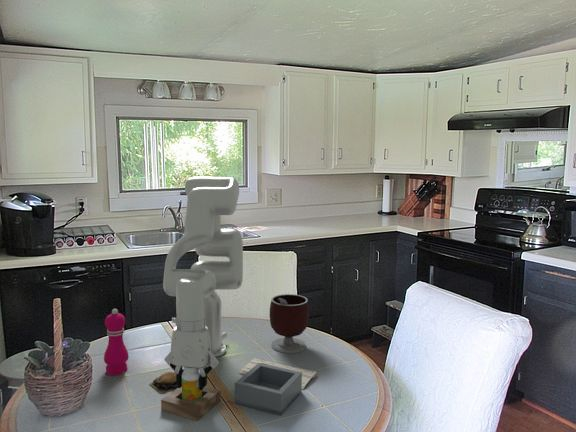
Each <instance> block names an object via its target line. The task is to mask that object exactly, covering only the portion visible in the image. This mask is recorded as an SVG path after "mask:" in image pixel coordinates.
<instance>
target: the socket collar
mask: <svg viewBox="0 0 576 432" xmlns="http://www.w3.org/2000/svg"><path fill="white" fill-rule="evenodd" d="M221 401H222V391H221V389H217V388H215V387H214V388H213V387H210V386H209V387H208V386H207V385H206V386H205V387H204V388H203V390H202V398H200V399H199V400H198V401H197V402H194V403H193V402H189V401H185V400H182V387H181V388H177V389H175V390H172V391H170V393H169V394H167V395H166V396H164V397H163V398H161V400H160V404H161V405H160V409H161V411H162V412H166V413H170V414H172V415H176V416H179V417H183V418H186V419H190V420H194V421H196V422H197V421H199V420H201V418H203V416H204V415H206V414H207V413H208V412H209V411H210V410H212V409H213V408H214V407H216V405H217V404H219V403H220V402H221Z"/></svg>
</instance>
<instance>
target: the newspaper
mask: <svg viewBox="0 0 576 432" xmlns="http://www.w3.org/2000/svg"><path fill="white" fill-rule="evenodd" d="M258 363H261V364H266V365H270V366H275V367H279V368H284V369H288V370H293V371H298V372H302V389H301V391H302V390H304V389H305V387H306V385H307V384H308V383H309V382H310V381H311V379H314V378H317V375H318V373H317V371H316V370H312V369H306V368H301V367H296V366H291V365H286V364H282V363H279V362H273V361H270V360H263V359H259V358H256V357H254V358H252V359H251V360H250V361H249V362H248V363H247V364H246V365H244V366H243V367H242V369H240V371H239V372H238V374H239V375H242V376H244V375H245V374H246V373H247V372H248V371H250V370H251V369H252V368H253V367H254V366H256V365H257V364H258Z"/></svg>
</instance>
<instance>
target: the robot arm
mask: <svg viewBox="0 0 576 432" xmlns="http://www.w3.org/2000/svg"><path fill="white" fill-rule="evenodd" d="M184 190H185V194H186V195H185V196H186V197H187V200H186V210H185V223H184V232H183V235H182V236H181V237H180V238H179V239H178V240H176V242H175V243H174V244H173V246H172V247H171V248H170V249H169V251H168V253H167V255H166V258H165V261H164V262H165V263H164V271H163V281H162V287H163V291H164V293H165V294H166V295H168V296H170V297H176V299H175V306H176V307H175V308H176V316H175V317H171V323H174V324H175V327H173V331H172V336H171V342H170V352H169V353H168V354H167V355H166V356H165V357H164V362H166V363H167V365H168V366H169V367H170V368H171V369H172V371H174V373H175V374H176V383H178V388H181V387H182V373H183V372H184V367H194V368H199V371H200V373H201V375H200V377H199V390H203V388H204V387H205V386H206V387H207V385H208V373H210V372H211V371H212V370H214V369H215V368H216V367H217V366H218V365H219V363H220V361H219V360H218V359H217V358H218V357H221V356H222V355H224V354H225V353H226V351H227V346H226V345H225V344H224V343H223V340H224V339H226V338H227V336H228V334H227V332H225V331H224V332H222V300H221V296H219V294H218V293H217V292H216V290H222V291H223V290H227V291H228V290H237V289H240V288H241V286H242V284H243V278H244V277H243V272H244V270H243V269H244V267H243V266H244V263H243V262H244V259H243V258H244V256H243V255H244V254H243V253H244V247H243V245H244V243H243V236H242V233H241V231H240V230H237V229H234V228H222V227H221V216H232V215H233V214H234V213H236V209H237V206H238V205H237V204H238V200H239V198H240V197H239V195H240V184H239V181H238V180H237V179H236V178H234V177H231V176H230V177H227V176H226V177H225V176H224V177H223V176H193V177H190V178H187V179H186V181H185V184H184ZM192 250H195V253H196V254H197V255H198V256H200V257H207V258H227V259H228V260H199V261H196V262H194V263H193V264H192V265H191V267H190V268H185V269H183V268H177V265H178V262H179V260H180V259H181V258H182V257H183V256H184V255H185V254H186V253H189V252H190V251H192ZM208 362H210V364H209V363H208ZM208 364H209V365H208Z"/></svg>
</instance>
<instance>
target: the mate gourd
mask: <svg viewBox="0 0 576 432" xmlns="http://www.w3.org/2000/svg"><path fill="white" fill-rule="evenodd" d="M308 302H309V301H308V298H307V297H306V296H303V295H299V294H292V293H290V294H289V293H285V294H283V293H282V294H277V295H275V296H272V297H271V300H270V304H269V322H270V323H269V324H270V327H271V328H272V330H273V331H274V333H275V334H277V335H278V336H282V337H279V338H276V339H274V340H272V341H271V343H270V344H271V345H270V346H271V349H273V350H274V351H276V352H278V353H281V354H282V353H283V354H295V353H300V352H302V351H304V350H305V349H306V348H307V344H306V342H305V341H304V340H302V339H299V338H295V337H297V336H301V335H302V334H303V333H304V331H305V330H306V329H307V326H308V324H309V319H310V318H309V317H310V308H309V303H308Z"/></svg>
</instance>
